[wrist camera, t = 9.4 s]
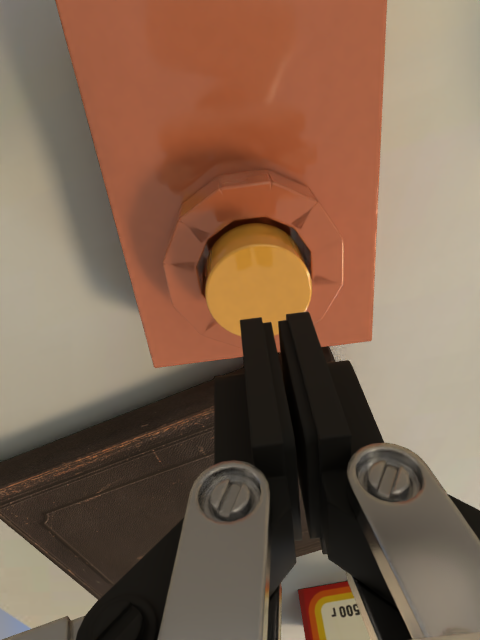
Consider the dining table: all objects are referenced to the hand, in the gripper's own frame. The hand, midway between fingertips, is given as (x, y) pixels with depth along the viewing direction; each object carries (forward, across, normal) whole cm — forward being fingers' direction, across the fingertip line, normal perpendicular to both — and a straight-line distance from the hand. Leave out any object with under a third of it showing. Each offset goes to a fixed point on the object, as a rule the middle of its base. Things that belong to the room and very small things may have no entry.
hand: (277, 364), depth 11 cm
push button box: (+12, 0, -2) cm, 12 cm away
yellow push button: (+6, 0, 0) cm, 6 cm away
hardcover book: (+12, +5, +18) cm, 23 cm away
